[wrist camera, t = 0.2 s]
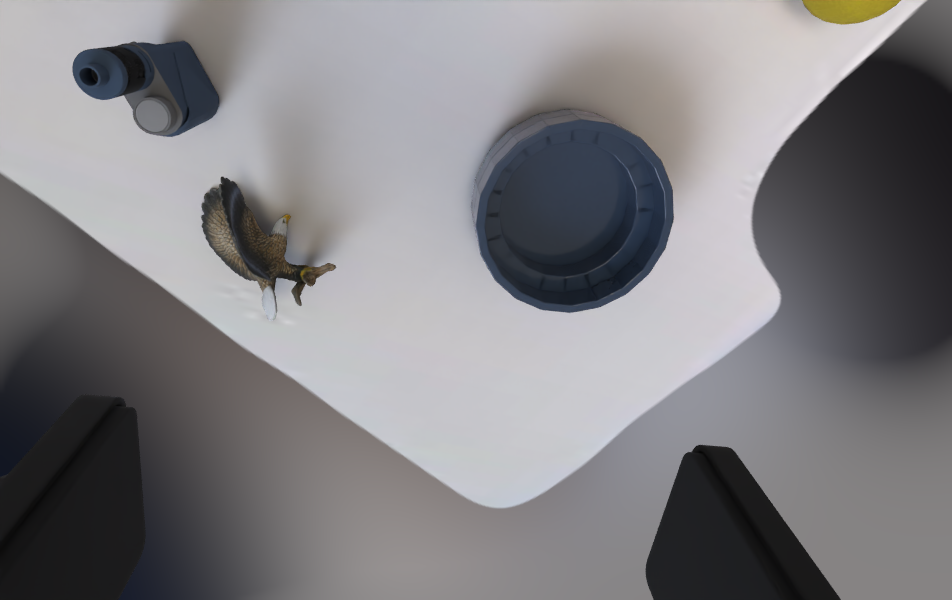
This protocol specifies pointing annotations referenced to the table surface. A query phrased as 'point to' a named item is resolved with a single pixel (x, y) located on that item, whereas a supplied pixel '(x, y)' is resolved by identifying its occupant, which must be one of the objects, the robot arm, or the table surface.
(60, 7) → the table surface
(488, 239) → the bowl
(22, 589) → the robot arm
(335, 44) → the table surface
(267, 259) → the eagle figurine
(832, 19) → the lemon
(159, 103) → the vaping device
